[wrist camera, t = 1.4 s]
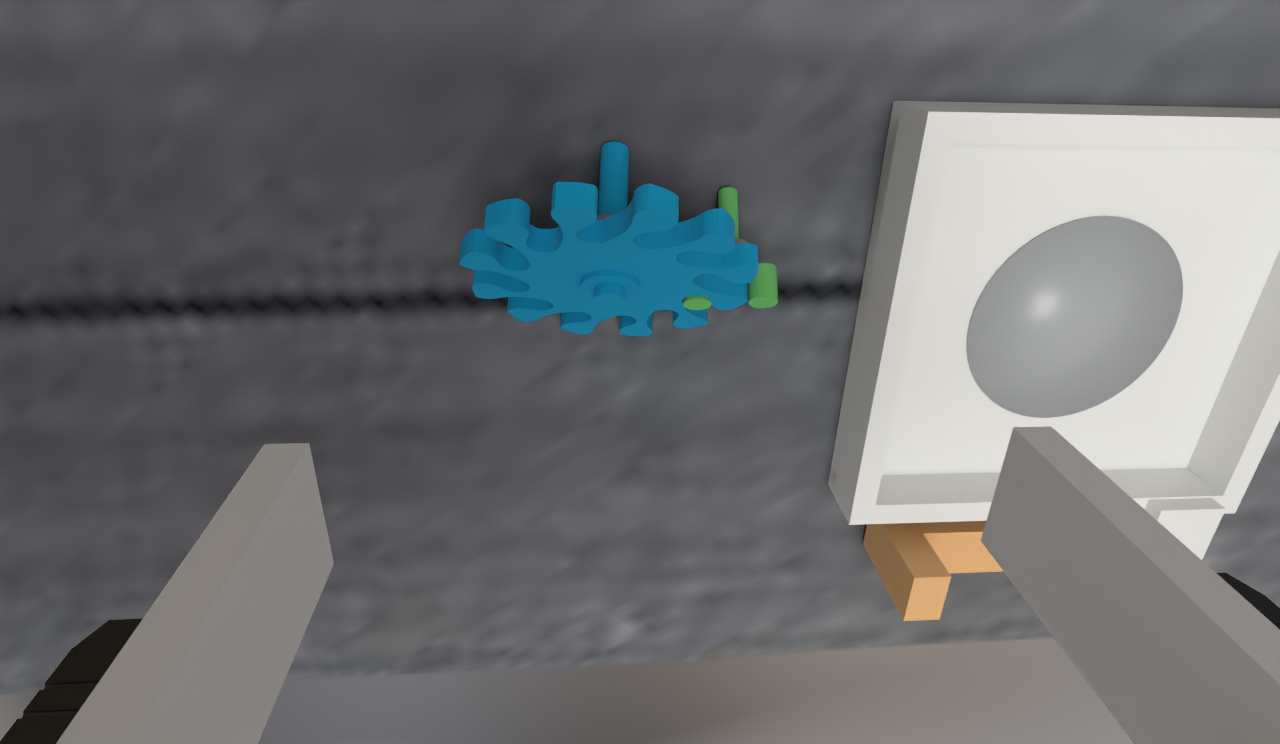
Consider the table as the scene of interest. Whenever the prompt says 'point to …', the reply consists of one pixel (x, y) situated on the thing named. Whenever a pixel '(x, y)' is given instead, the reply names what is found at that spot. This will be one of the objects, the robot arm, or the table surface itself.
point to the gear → (617, 256)
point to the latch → (925, 561)
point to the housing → (1066, 307)
